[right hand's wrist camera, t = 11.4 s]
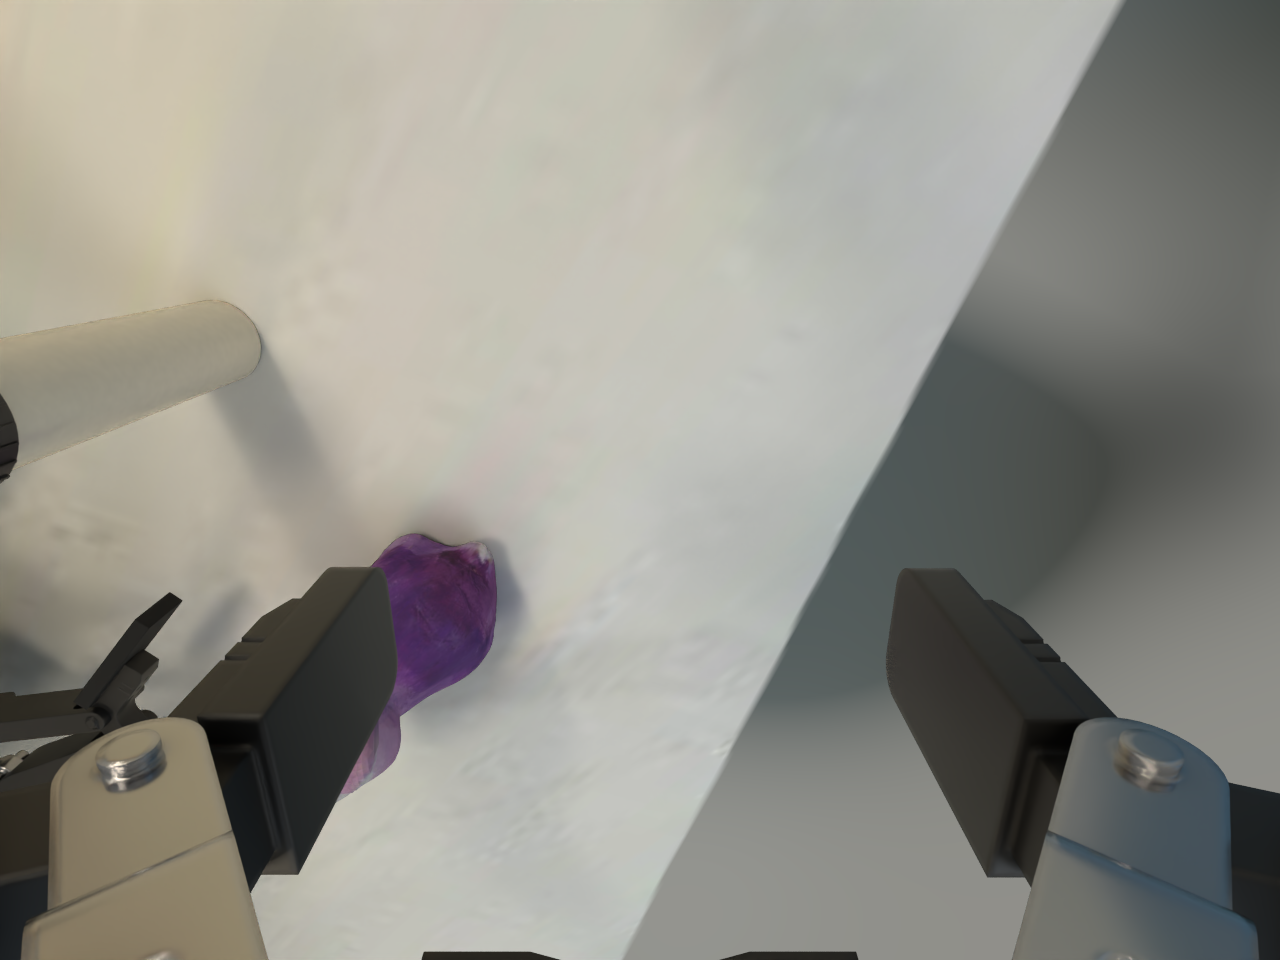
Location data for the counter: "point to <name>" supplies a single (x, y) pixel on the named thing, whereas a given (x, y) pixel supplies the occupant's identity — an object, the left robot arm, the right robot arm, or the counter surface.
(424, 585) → the figurine
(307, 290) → the counter surface
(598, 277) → the counter surface
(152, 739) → the right robot arm
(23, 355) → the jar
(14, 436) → the lid
